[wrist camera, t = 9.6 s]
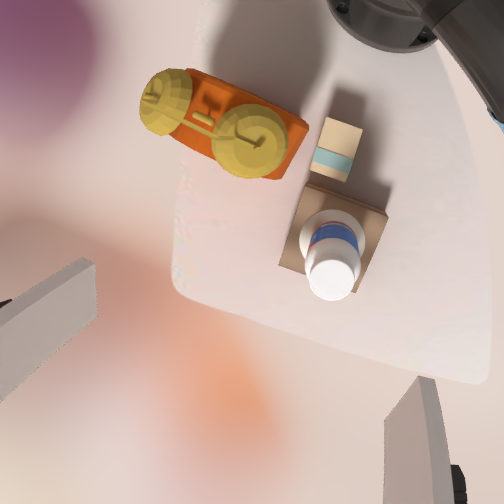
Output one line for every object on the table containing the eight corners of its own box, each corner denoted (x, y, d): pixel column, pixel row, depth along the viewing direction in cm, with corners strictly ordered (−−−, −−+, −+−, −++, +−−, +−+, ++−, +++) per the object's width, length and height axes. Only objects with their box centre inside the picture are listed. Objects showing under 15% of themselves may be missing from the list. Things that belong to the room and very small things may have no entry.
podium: (307, 182, 37) (304, 186, 34) (384, 211, 36) (388, 217, 33) (282, 256, 41) (278, 265, 38) (354, 282, 40) (355, 293, 37)
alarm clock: (316, 127, 35) (296, 117, 17) (291, 171, 37) (246, 208, 19) (219, 79, 35) (121, 44, 17) (198, 122, 38) (90, 122, 20)
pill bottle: (308, 220, 36) (298, 250, 27) (356, 218, 34) (362, 247, 25) (312, 266, 37) (303, 307, 29) (357, 264, 36) (362, 306, 27)
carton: (326, 118, 34) (325, 116, 30) (360, 130, 33) (363, 129, 30) (311, 166, 36) (309, 169, 33) (344, 178, 36) (345, 182, 32)
